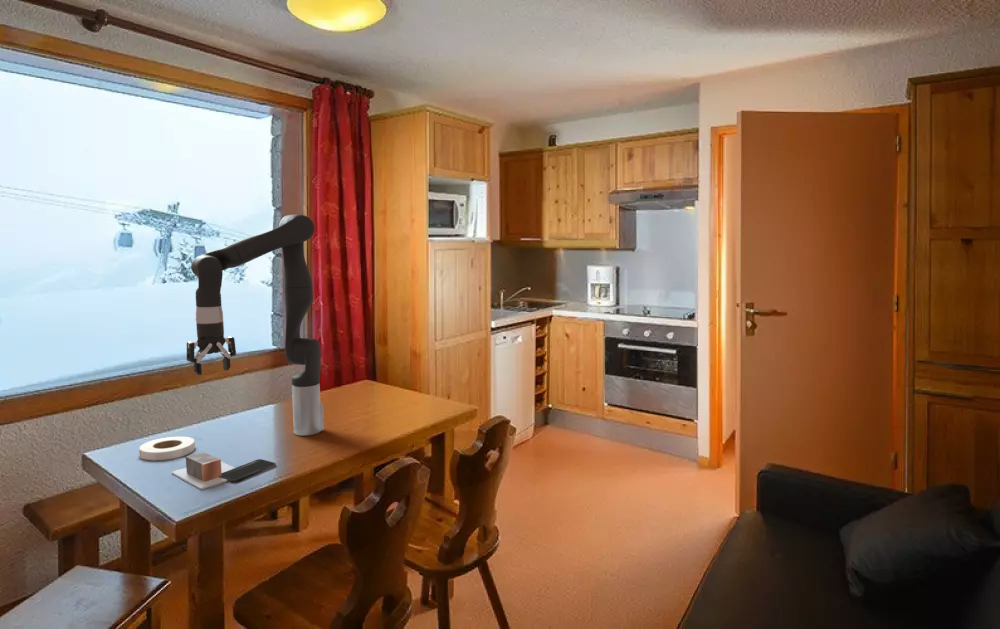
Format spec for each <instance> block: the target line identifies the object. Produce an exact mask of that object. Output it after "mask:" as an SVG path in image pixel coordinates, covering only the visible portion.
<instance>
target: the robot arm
mask: <svg viewBox="0 0 1000 629" xmlns="http://www.w3.org/2000/svg"><path fill="white" fill-rule="evenodd" d="M314 233H315V223H314V221H313V220H312V218H310V217H309V216H306V215H304V214H299V213H297V214H288V215H285V216H283V217H282V218H281V220H280V222H279V224H278V227H276V228H274V229H272V230H268V231H266V232H263V233H259V234H256V235H252V236H250V237H249V236H248V237H246V238H243V239H240V240H237V241H235V242H233V243H231V244H228V245H226V246H224V247H222V248H219V249H216V250H212V251H210V252H206V253H203V254H200V255H198V256H197V257H195V258H194V259H193V260H192V262H191V265H190V269H191V273H193V275H194V276H195V277H197V278H198V279H197V280H198V282H197V283H198V287H197V288H196V290H195V307H196V309H195V323H196V337H197V340H196V341H187V342H186V361H187V362H190V363H193V372H194V373H195V374H196V375H197V376H202V375H203V373H202V372H203V371H202V363H201V361H202V360H203V358H205V357H206V356H207V355H212V354H220V355H222V357H223V358H222V364H223V365H222V368H223V371H229V370H230V368H231V358H232V357H234V356H236V355H237V350H236V341H235V337H233V336H227V337H225V336H224V335H225V327H224V325H225V324H224V312H223V307H222V294H221V290H222V283H223V275H224V274H223V271H225V270H228V269H234V268H238V267H240V266H242V265H244V264H246V263H249V262H251V261H253V260H255V259H257V258H260V257H262V256H264V255H266V254H268V253H271V252H273V251H276V250H279V249H281V252H282V267H283V268H282V269H283V270H282V272H283V294H284V305H285V335H284V336H285V339H284V355H285V358H286V362H287V363H288V364H289V365H290V364H291V365H297V366H299V365H300V366H301V365H302V366H305V367H304V371H302V372H300V373H297V374H294V375H293V376H292V377H291V393H292V394H291V397H292V419H293V423H292V424H293V434H294V435H296V436H302V437H303V436H312V435H317V434H319V433H320V432H322V431H324V430H325V428H324V426H325V425H324V405H323V403H322V402H321V388H320V386H321V384H320V379H321V367H322V366H321V365H322V364H321V362H322V361H321V360H322V359H321V358H322V357H321V354H322V353H321V352H322V351H321V344H320V342H319V340H318V339H316V338H310V337H301V326H302V323H303V322H302V321H303V320H304V317H305V316H306V315H307V313H308V311H309V309H310V308H311V306H312V304H313V300H314V293H313V280H312V276H311V273H310V269H309V268H308V265H307V262H306V259H305V254H304V252H305V251H304V242H307V241H308V240H310V239H311V238H312V237H313V235H314ZM225 343H226V344H227V349H228V350H227V349H226V348H225V347H224V345H225ZM197 348H198V350H197V351H196V353H195V350H196V349H197Z"/></svg>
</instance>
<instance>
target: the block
mask: <svg viewBox="0 0 1000 629" xmlns="http://www.w3.org/2000/svg"><path fill="white" fill-rule="evenodd" d="M221 462H222V460H221V458H218V457H216V456H214V455H211V454H209V453H207V452H205V451H200V452H197V453H193V454H189V455H187V456H186V455H185V468H186V469H187V474H189V475H191V476H193V477H195V478H197V479H199V480H201V481H203V482H206V481H209V480H212V479H215V478H218V477H219V476H222V472H221Z"/></svg>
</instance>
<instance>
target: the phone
mask: <svg viewBox="0 0 1000 629" xmlns="http://www.w3.org/2000/svg"><path fill="white" fill-rule="evenodd" d="M276 466H277V463H276V462H273V461H270V460H266V459H262V458H259V459H255V460H253V461H250V462H248V463H245V464H242V465H239V466H237V467H234V469H232V470H229V471H226V472H224V473H222V476H219V477H220V478H223V479H227V480H228V481H227V482H226V483H232V484H237V483H240V482H242V481H244V480H246V479H249V478H251V477H254V476H257V475H259V474H261V473H263V472H265V471H269V470H270V469H273V468H275V467H276Z"/></svg>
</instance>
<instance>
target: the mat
mask: <svg viewBox="0 0 1000 629" xmlns="http://www.w3.org/2000/svg"><path fill="white" fill-rule="evenodd" d="M234 468H235V467H234V466H232V465H230V464H227V463H225V462H224V461H221V472H222V473H224V472H226V471H229V470H232V469H234ZM171 475H174V476H175V477H177V478H179V479H181V480H183V481H184V482H186V483H187V484H190V485H192V486H194V487H195V488H197V489H199V490H200V491H202V490H205V489H208V488H211V487H215V486H218V485H221V484H224V483H228V482H227V481H228V480H227V479H223V478H220V477H218V478H215V479H212V480H209V481H206V482H203V481H201V480H199V479H197V478H195V477H193V476H191V475H189V474H187V469H186V467H183V468H181V469H177V470H173V471H171Z"/></svg>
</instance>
